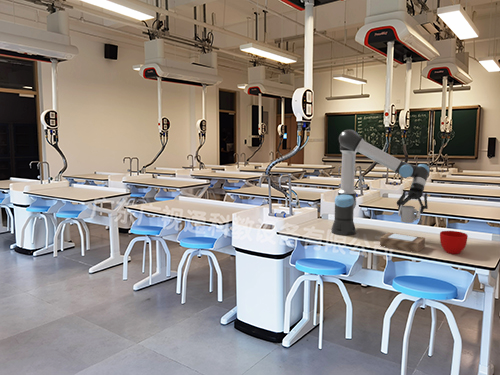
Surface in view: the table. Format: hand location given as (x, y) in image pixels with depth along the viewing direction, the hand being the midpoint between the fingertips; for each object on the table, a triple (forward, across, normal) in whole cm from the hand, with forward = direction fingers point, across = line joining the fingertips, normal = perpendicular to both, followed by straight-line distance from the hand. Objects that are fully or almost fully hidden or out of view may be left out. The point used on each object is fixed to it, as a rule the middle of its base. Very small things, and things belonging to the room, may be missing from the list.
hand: (408, 216), depth 231 cm
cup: (+1, 0, -5) cm, 5 cm away
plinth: (+20, -2, 0) cm, 20 cm away
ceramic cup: (+16, -25, -5) cm, 30 cm away
